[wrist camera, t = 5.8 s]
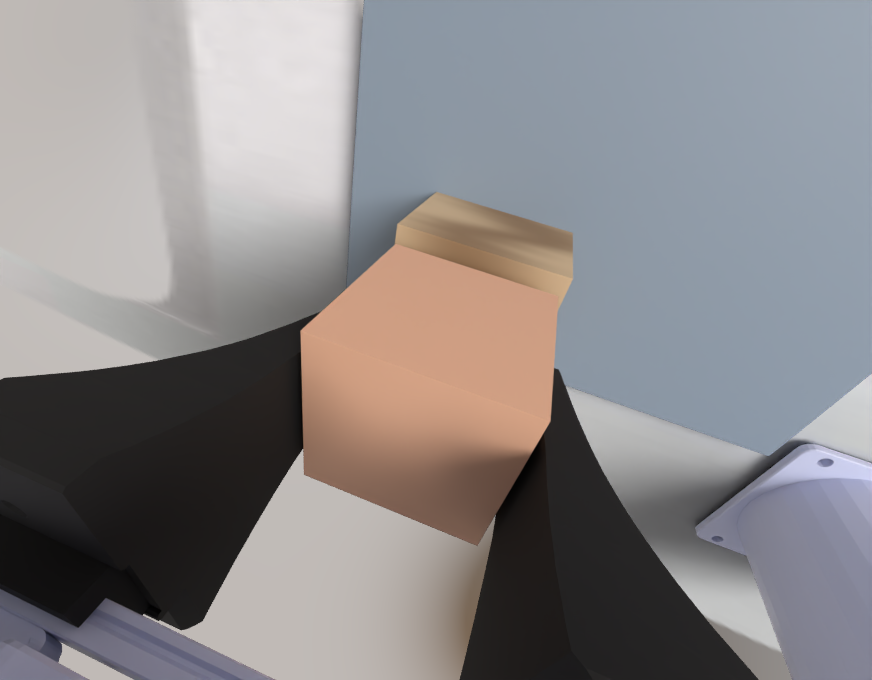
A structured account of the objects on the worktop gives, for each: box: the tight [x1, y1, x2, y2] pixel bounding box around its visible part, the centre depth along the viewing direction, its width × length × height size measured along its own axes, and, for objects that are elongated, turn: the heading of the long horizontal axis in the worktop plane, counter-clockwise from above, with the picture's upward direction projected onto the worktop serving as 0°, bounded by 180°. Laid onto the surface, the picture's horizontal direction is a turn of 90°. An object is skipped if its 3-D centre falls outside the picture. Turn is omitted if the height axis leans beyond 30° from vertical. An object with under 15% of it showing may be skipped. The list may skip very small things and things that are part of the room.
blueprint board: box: [346, 0, 872, 456], centre depth 13 cm, size 20×16×1 cm
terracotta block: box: [301, 244, 559, 545], centre depth 10 cm, size 5×5×5 cm
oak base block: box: [395, 192, 573, 309], centre depth 14 cm, size 5×5×4 cm
